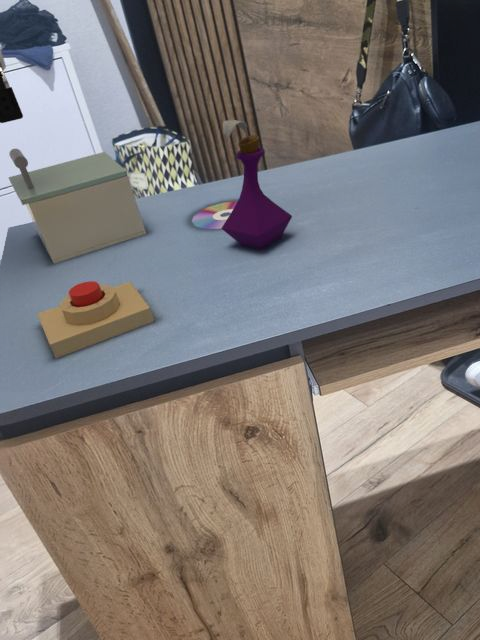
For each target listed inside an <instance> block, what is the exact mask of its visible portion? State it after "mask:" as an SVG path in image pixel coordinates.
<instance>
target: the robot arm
mask: <svg viewBox="0 0 480 640" xmlns="http://www.w3.org/2000/svg"><path fill="white" fill-rule="evenodd" d="M1 49H2V48H0V124H5V123H9V122H12V121H17V120H22V119H23V118H24V115H23V112H22V109H21V107H20V104H19V102H18V99H17V97H16V94H15V92H14V89H13V87H12V86H10V83H9V80H8V78H7V77H6V75H5V72H4V71H5V69H6V68H7V65H6V62H5V58H4V56H3V52H2V50H1Z"/></svg>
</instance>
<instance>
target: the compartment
mask: <svg viewBox="0 0 480 640" xmlns="http://www.w3.org/2000/svg"><path fill="white" fill-rule="evenodd" d="M25 206H26V209H27V211H28V214H29V215H30V218H31V220H32V222H33V225H34V227H35V229H36V232H37V234H38V237H39V238H40V241H41V243H42V244H43V246H44V248H45V250H46V252H47V254H48V255H49V257H50V260H51V261H52V263H53V264H58V263H60V262H63V261H67V260H70V259H73V258H76V257H79V256H82V255H85V254H88V253H92V252H95V251H97V250H101V249H103V248H107V247H110V246H114V245H116V244H119V243H122V242H125V241H128V240H131V239H135V238H137V237H141V236H144V235H147V230H146V228H145V224H144V221H143V218H142V215H141V212H140V210H139V209H140V208H139V207H138V204H137V200H136V196H135V194H134V190H133V187H132V184H131V182H130V178H129V175H127V176H124V177H120V178H117V179H113V180H110V181H106V182H103V183H99V184H96V185H92V186H88V187H85V188H81V189H78V190H74V191H71V192H67V193H64V194H60V195H57V196H53V197H50V198H46V199H43V200H39V201H36V202H32V203H29V204H25Z"/></svg>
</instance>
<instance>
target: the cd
mask: <svg viewBox="0 0 480 640" xmlns="http://www.w3.org/2000/svg"><path fill="white" fill-rule="evenodd" d="M237 202H238V200H237V201H236V200H234V201H227V202H220V203H217V204H214V205H210V206H208V207H205V208H203V209H202V210H201V209H200V211H198V212H197V213H195V214H194V215H193V217H192V219H191V223H192V224H193V226H194V227H197V228H198V229H199V228H200V229H203V230H220V229H221V230H222V227H223V225H224V223H225V222H226V220H227V219H228V217H229V216H230V214H231V212H232V211H233V209H234V207H235V205H236V203H237ZM226 213H228V214H229V215H226V216H221V215H223V214H226Z"/></svg>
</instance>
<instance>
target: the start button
mask: <svg viewBox="0 0 480 640" xmlns="http://www.w3.org/2000/svg"><path fill="white" fill-rule="evenodd" d="M99 285H100V284H99V282H97V281H93V280H90V281H84V282H81V283H78V284H76V285H74V286H72V287H71V288H70V289H69V290H68V295H70V298H71V300H72V302H73V305H74V306H75V307H86V306H89V305H92V304H95V303H97V302H99V301H100V300H102V299H103V297H104V296H103V293H102V291H101V288H100V286H99Z"/></svg>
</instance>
